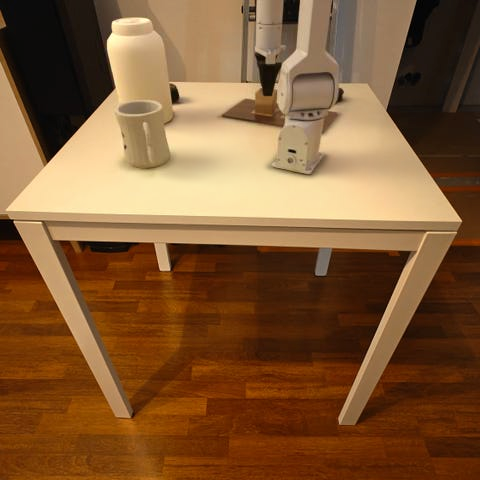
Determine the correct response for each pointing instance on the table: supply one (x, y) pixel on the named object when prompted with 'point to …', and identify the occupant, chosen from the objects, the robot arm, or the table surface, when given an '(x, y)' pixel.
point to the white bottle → (139, 63)
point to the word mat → (265, 115)
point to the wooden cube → (265, 102)
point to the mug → (143, 133)
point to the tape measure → (174, 92)
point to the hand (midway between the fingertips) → (266, 90)
